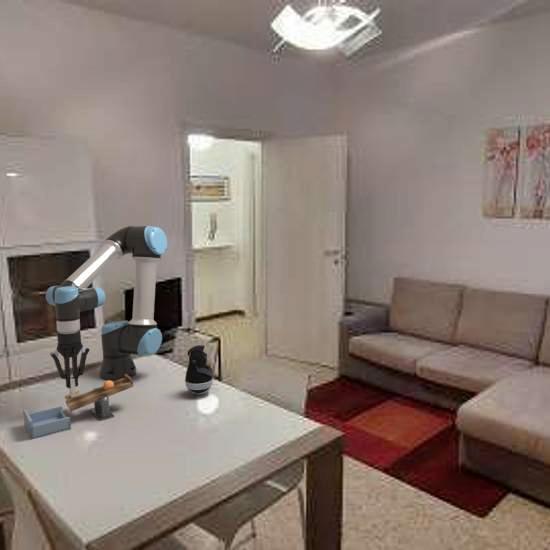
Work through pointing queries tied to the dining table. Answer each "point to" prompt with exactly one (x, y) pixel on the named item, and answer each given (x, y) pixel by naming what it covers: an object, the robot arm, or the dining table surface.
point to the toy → (198, 371)
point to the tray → (46, 422)
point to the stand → (102, 408)
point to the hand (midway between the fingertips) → (72, 395)
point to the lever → (97, 394)
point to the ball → (108, 385)
